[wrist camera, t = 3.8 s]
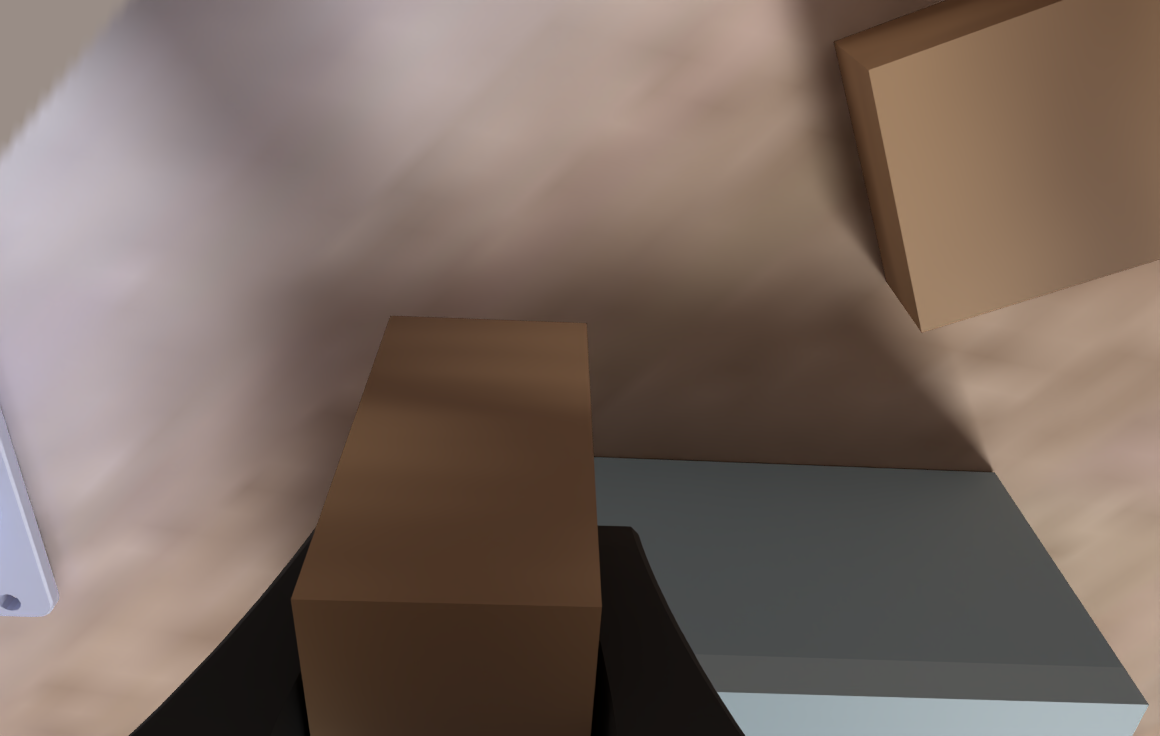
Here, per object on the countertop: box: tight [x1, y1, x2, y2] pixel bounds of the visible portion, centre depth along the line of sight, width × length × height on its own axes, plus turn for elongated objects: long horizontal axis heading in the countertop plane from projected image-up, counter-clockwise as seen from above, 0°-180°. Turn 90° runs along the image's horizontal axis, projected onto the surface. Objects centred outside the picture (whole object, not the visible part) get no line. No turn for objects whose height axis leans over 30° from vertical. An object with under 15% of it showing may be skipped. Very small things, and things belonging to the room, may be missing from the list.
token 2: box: [834, 0, 1160, 333], centre depth 16 cm, size 6×5×2 cm
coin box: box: [594, 457, 1149, 736], centre depth 21 cm, size 12×10×6 cm
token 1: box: [291, 316, 602, 736], centre depth 11 cm, size 2×6×5 cm, turn 177°
